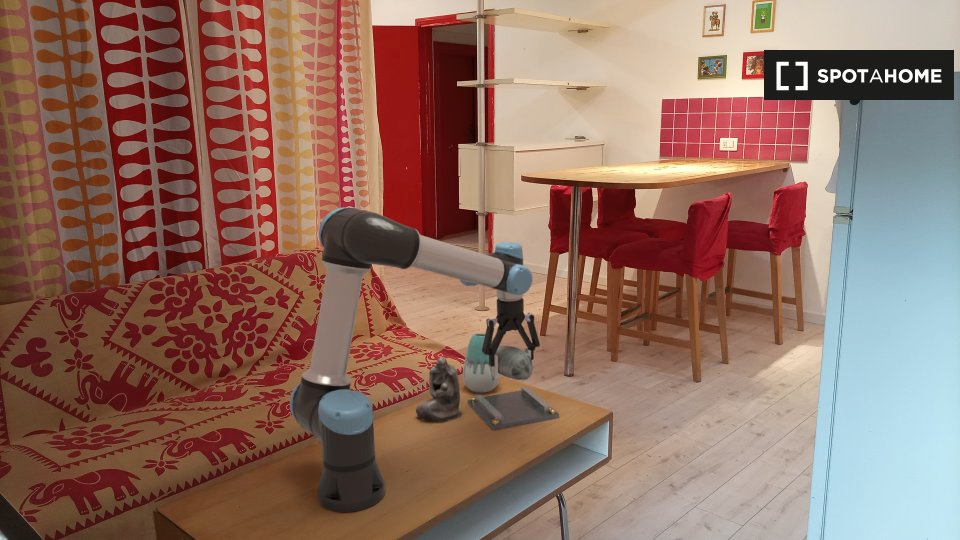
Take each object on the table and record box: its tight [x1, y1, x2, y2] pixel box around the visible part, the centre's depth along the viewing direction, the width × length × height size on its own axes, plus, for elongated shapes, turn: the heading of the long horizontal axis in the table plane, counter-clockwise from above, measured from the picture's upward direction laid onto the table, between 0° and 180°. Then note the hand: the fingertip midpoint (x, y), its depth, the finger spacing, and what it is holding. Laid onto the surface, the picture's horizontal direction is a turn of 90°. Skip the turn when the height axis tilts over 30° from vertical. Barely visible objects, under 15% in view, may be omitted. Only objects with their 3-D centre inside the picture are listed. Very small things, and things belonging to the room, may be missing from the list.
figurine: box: [415, 356, 463, 423], centre depth 205 cm, size 13×12×18 cm
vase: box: [462, 332, 501, 394], centre depth 223 cm, size 12×12×18 cm
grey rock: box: [495, 345, 534, 381], centre depth 205 cm, size 14×10×10 cm
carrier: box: [467, 386, 560, 431], centre depth 208 cm, size 20×20×3 cm
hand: (511, 373), depth 206 cm, fingers closed on grey rock, 9 cm apart
